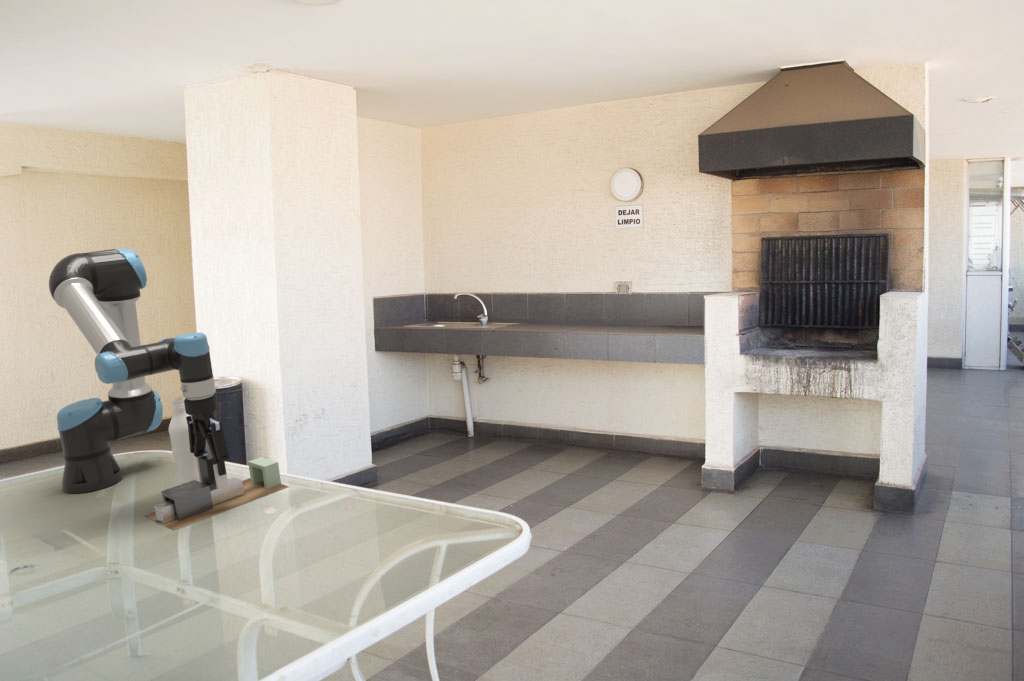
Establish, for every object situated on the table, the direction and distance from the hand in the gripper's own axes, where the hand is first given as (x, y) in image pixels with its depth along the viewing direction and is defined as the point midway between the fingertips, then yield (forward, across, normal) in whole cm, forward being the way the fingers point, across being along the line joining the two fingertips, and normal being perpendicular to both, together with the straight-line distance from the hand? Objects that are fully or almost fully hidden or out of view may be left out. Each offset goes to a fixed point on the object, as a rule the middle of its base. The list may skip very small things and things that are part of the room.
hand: (214, 483), depth 201 cm
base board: (+6, 0, 0) cm, 6 cm away
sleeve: (+6, 0, -7) cm, 9 cm away
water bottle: (+6, -18, +2) cm, 19 cm away
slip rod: (+5, 0, -4) cm, 6 cm away
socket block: (+6, 0, +14) cm, 15 cm away
